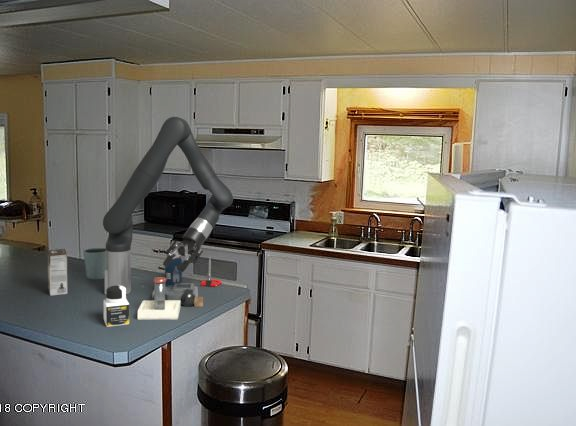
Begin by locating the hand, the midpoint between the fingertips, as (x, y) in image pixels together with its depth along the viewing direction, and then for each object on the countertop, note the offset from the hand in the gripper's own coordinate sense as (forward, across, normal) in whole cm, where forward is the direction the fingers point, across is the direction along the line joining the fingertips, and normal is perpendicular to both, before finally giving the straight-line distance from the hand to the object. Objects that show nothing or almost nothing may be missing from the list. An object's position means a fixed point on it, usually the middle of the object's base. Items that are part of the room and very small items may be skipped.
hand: (172, 268), depth 173 cm
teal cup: (+8, -57, +15) cm, 60 cm away
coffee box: (+23, -48, -1) cm, 53 cm away
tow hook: (-13, -15, +35) cm, 40 cm away
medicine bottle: (+25, -3, -3) cm, 26 cm away
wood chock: (+4, +3, +18) cm, 19 cm away
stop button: (+14, 0, +7) cm, 16 cm away
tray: (+15, 0, +7) cm, 16 cm away
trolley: (+6, -7, +16) cm, 18 cm away
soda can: (-4, -26, +26) cm, 37 cm away
